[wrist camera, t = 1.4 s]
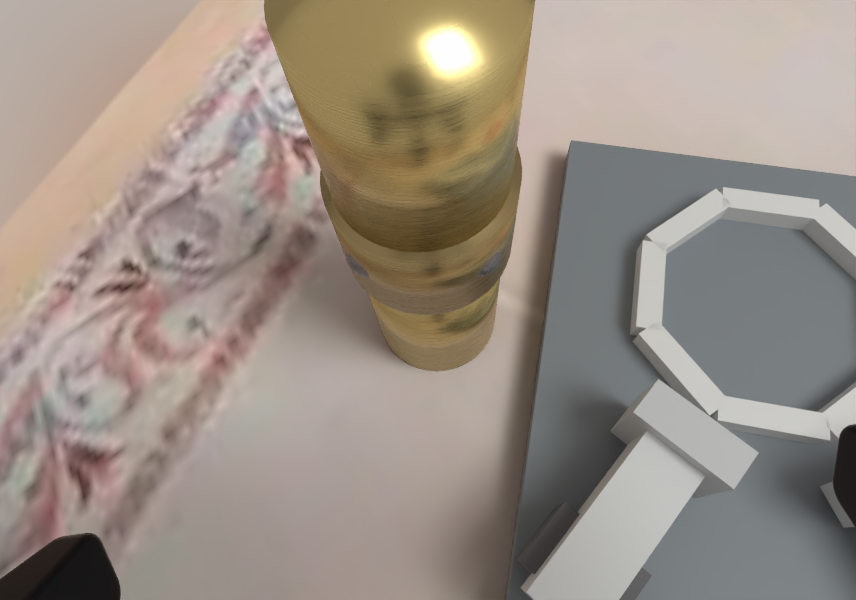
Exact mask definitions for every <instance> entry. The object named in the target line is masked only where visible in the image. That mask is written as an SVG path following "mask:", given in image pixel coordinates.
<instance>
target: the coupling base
mask: <svg viewBox="0 0 856 600" xmlns="http://www.w3.org/2000/svg"><path fill="white" fill-rule="evenodd" d="M852 424H856V177H855V176H847V175H840V174H832V173H824V172H816V171H808V170H800V169H792V168H784V167H777V166H769V165H761V164H753V163H745V162H737V161H729V160H721V159H713V158H706V157H698V156H690V155H682V154H674V153H666V152H658V151H650V150H642V149H635V148H627V147H619V146H611V145H603V144H595V143H587V142H579V141H572V140H571V143H570V146H569V150H568V154H567V158H566V165H565V172H564V179H563V186H562V193H561V201H560V208H559V215H558V222H557V229H556V237H555V244H554V251H553V258H552V265H551V273H550V280H549V287H548V294H547V301H546V309H545V316H544V323H543V330H542V337H541V345H540V352H539V359H538V366H537V373H536V381H535V388H534V395H533V402H532V409H531V417H530V424H529V431H528V438H527V445H526V453H525V460H524V467H523V474H522V481H521V489H520V496H519V503H518V510H517V517H516V525H515V532H514V539H513V546H512V554H511V561H510V568H509V575H508V582H507V590H506V597H505V600H856V528H855V526H854V525H853V523H852V522H851V520H850V519H849V517H848V516H847V514H846V513H845V511H844V510H843V508H842V507H841V505H840V503H839V502H838V500H837V498H836V495H835V492H834V489H833V473H834V467H835V460H836V454H837V447H838V441H839V436H840V433H841V431H842V430H843V429H844V428H845V427H847V426H848V425H852Z"/></svg>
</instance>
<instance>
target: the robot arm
mask: <svg viewBox="0 0 856 600" xmlns="http://www.w3.org/2000/svg"><path fill="white" fill-rule="evenodd" d="M833 489H834V492H835V495H836V498H837V500H838V502H839V503H840V505H841V507H842V508H843V510H844V511H845V513H846V514H847V516H848V517H849V519H850V520H851V522H852V523H853V525H854V526H855V528H856V424H852V425H848V426H847V427H845V428H844V429H843V430H842V431H841V433H840V436H839V441H838V447H837V454H836V460H835V467H834V473H833ZM120 595H121V593H120V584H119V580H118V578H117V576H116V573H115V571H114V569H113V566H112V564H111V562H110V560H109V557H108V555H107V553H106V551H105V548H104V546H103V544H102V542H101V540H100V538H99V537H98V536H96V535H95V534H92V533H84V534H76V535H69V536H63V537H59V538H57V539H55V540H53V541H52V542H50V543H49V544H48V545H46V546H45V547H43V548H42V549H41V550H39V551H38V552H37V553H35V554H34V555H32V556H31V557H30V558H28V559H27V560H26V561H24V562H23V563H21V564H20V565H19V566H17V567H16V568H15V569H13V570H12V571H11V572H9V573H8V574H6V575H5V576H4V577H2V578H1V579H0V600H120Z"/></svg>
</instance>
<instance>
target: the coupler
mask: <svg viewBox="0 0 856 600" xmlns="http://www.w3.org/2000/svg"><path fill="white" fill-rule="evenodd" d="M534 5H535V0H264V11H265V20H266V24H267V27H268V31H269V33H270V36H271V39H272V41H273V44H274V47H275V49H276V52H277V55H278V57H279V60H280V63H281V65H282V68H283V70H284V73H285V76H286V78H287V81H288V84H289V86H290V89H291V92H292V94H293V97H294V100H295V102H296V105H297V107H298V110H299V113H300V115H301V118H302V121H303V123H304V126H305V129H306V131H307V134H308V136H309V139H310V142H311V144H312V147H313V150H314V152H315V155H316V158H317V160H318V163H319V166H320V168H321V173H320V185H321V193H322V197H323V200H324V204H325V207H326V209H327V211H328V214H329V216H330V219H331V221H332V224H333V226H334V229H335V231H336V234H337V236H338V239H339V241H340V243H341V246H342V248H343V251H344V253H345V256H346V259H347V263H348V265H349V267H350V268H351V270H352V272H353V274H354V276H355V278H356V279H357V281H358V282H359V284H360V285H361V286H362V287H363V288H364V290H365V291H366V292H367V293H368V295H369V298H370V300H371V303H372V306H373V308H374V311H375V313H376V316H377V319H378V321H379V324H380V327H381V329H382V332H383V335H384V337H385V339H386V341H387V343H388V345H389V346H390V348H391V349H392V350H393V352H394V353H395V354H396V355H397V356H398V357H400V358H401V359H402V360H403V361H405V362H406V363H408V364H410V365H412V366H414V367H417V368H420V369H425V370H431V371H443V370H449V369H454V368H457V367H460V366H462V365H464V364H466V363H468V362H469V361H471V360H472V359H474V358H475V357H476V356H477V355H478V354H479V353H480V352H481V351H482V350H483V349H484V347H485V346H486V344H487V343H488V341H489V339H490V337H491V334H492V331H493V327H494V322H495V314H496V306H497V298H498V290H499V282H500V276H501V275H502V273H503V271H504V269H505V267H506V265H507V262H508V259H509V257H510V252H511V246H512V240H513V233H514V226H515V220H516V213H517V206H518V200H519V193H520V186H521V180H522V166H521V158H520V154H519V151H518V147H517V140H518V132H519V124H520V116H521V108H522V100H523V92H524V84H525V76H526V68H527V60H528V53H529V45H530V37H531V29H532V21H533V13H534Z"/></svg>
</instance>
